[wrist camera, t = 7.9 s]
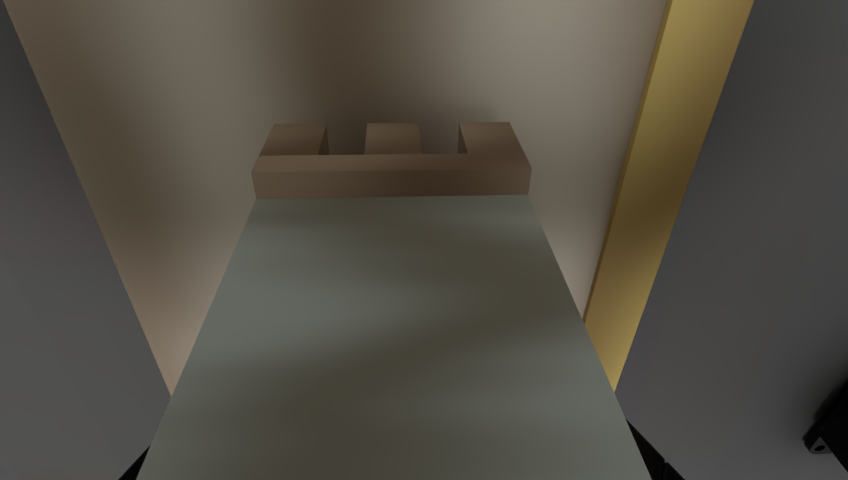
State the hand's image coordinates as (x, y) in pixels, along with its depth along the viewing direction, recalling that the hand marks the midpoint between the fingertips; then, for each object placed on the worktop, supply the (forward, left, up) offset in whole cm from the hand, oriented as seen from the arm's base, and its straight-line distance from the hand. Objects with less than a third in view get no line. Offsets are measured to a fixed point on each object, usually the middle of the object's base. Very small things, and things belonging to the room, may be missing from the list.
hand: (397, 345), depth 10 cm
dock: (0, 0, -8) cm, 8 cm away
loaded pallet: (0, 0, -2) cm, 3 cm away
